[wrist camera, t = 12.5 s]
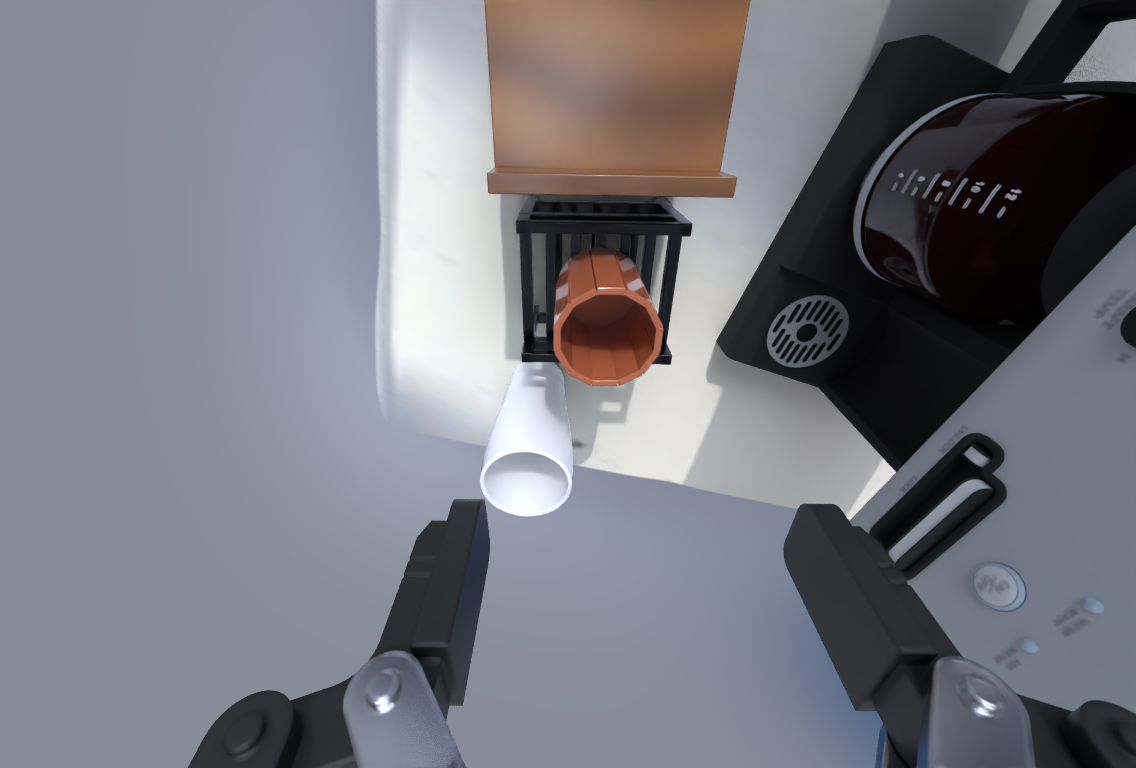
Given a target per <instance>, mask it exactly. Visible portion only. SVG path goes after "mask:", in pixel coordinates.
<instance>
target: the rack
mask: <svg viewBox="0 0 1136 768" xmlns="http://www.w3.org/2000/svg"><path fill="white" fill-rule="evenodd" d="M691 231H692V223H691V222H690V221H689V220H687V219H686V218H685V217H684V216H683V215H682V214H680V213H679V212H678V211H677V210H676V209H675V208H673V207H672V206H671V205H670V204H669V203H668V202H666V201H665V200H664V199H654V202H621V201H562V200H537V197H527V199H526V201H525V203H524V205H523V207H522V209H521V211H520V213H519V215H518V217H517V220H516V233H517V234H520V259H521V284H522V309H523V334H524V343H523V348H522V353H521V357H522V362H525V363H532V362H555V363H560V361H559V360H558V358H557V356H556V355H555V351H554V315H555V300H556V284H557V279H558V277H559V274H560V272H561V270H562V234H571V238H570V258H571V257H573V256H574V255H575V254H577V253H578V252H580V251H581V234H591V248H592V247H606V234H616V235H620V239H619V251H620V252H622V253H623V254H625V255H626V256H627V257H628V258H629V259H630V260H632V262H634V264H635V265H636V255H637V244H638V235H644V244H643V254H642V264H641V273H640V277H641V279H642V281H643V283H644V285H645V287H646V290H647V292H648V294H649V295H650V286H651V277H652V269H653V260H654V252H655V243H656V235H668V242H667V250H666V257H665V265H664V273H663V280H662V288H661V296H660V303H659V311H658V316H659V318H660V320H661V323H662V325H663V336H662V343H661V350H660V353H659V355H658V357H657V358H656V359H655V360H654V362H653V363H652V364H664V365H670V364H671V359H672V354H671V352H670V350H669V348H668V345H667V336H668V329H669V322H670V315H671V309H672V302H673V295H674V288H675V281H676V274H677V268H678V261H679V254H680V247H681V240H682V236H688V237H689V236H691ZM532 233H545V237H546V312H540V310H539V305H534V287H533V248H532ZM538 323H546V334H547V337H536V334H537V327H538Z"/></svg>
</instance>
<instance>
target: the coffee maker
mask: <svg viewBox="0 0 1136 768" xmlns="http://www.w3.org/2000/svg"><path fill="white" fill-rule="evenodd" d="M1129 19H1136V0H1062V1H1061V3H1060V4H1059V6H1058V7H1057V8H1056V10H1055V11H1054V13H1053V14H1052V15H1051V17H1050V18H1049V20H1048V21H1047V23H1046V24H1045V25H1044V27H1043V28H1042V30H1041V31H1040V33H1039V34H1038V35H1037V37H1036V38H1035V40H1034V41H1033V42H1032V44H1031V45H1030V47H1029V48H1028V50H1027V51H1026V52H1025V54H1024V55H1023V57H1022V58H1021V60H1020V61H1019V62H1018V64H1017V65H1016V67H1015V68H1014V69H1013V71H1012V72H1011V74H1009V73H1007V72H1005V71H1003V70H1001V69H999V68H997V67H995V66H993V65H991V64H989V63H987V62H985V61H983V60H981V59H979V58H977V57H975V56H973V55H971V54H969V53H967V52H965V51H963V50H961V49H959V48H957V47H955V46H953V45H951V44H949V43H947V42H945V41H943V40H941V39H939V38H937V37H934V36H930V35H919V36H914V37H910V38H906V39H901V40H897V41H893V42H888V43H886V44H885V45H884V47H883V48H882V50H881V52H880V54H879V55H878V57H877V59H876V61H875V62H874V64H873V66H872V68H871V69H870V71H869V73H868V75H867V77H866V78H865V80H864V82H863V84H862V85H861V87H860V89H859V91H858V92H857V94H856V96H855V98H854V99H853V101H852V103H851V105H850V106H849V108H848V110H847V112H846V114H845V115H844V117H843V119H842V121H841V122H840V124H839V126H838V128H837V129H836V131H835V133H834V135H833V136H832V138H831V140H830V142H829V144H828V145H827V147H826V149H825V151H824V152H823V154H822V156H821V158H820V159H819V161H818V163H817V165H816V166H815V168H814V170H813V172H812V174H811V175H810V177H809V179H808V181H807V182H806V184H805V186H804V188H803V189H802V191H801V193H800V195H799V196H798V198H797V200H796V202H795V204H794V205H793V207H792V209H791V211H790V212H789V214H788V216H787V218H786V219H785V221H784V223H783V225H782V226H781V228H780V230H779V232H778V234H777V235H776V237H775V239H774V241H773V242H772V244H771V246H770V248H769V249H768V251H767V253H766V255H765V256H764V258H763V260H762V262H761V264H760V265H759V267H758V269H757V271H756V272H755V274H754V276H753V278H752V279H751V281H750V283H749V285H748V286H747V288H746V290H745V292H744V294H743V295H742V297H741V299H740V301H739V302H738V304H737V306H736V308H735V309H734V311H733V313H732V315H731V316H730V318H729V320H728V322H727V324H726V325H725V327H724V329H723V331H722V332H721V334H720V336H719V338H718V339H717V343H718V345H719V346H720V348H721V349H722V351H723V352H724V354H725V355H726V356H727V357H729V358H730V359H732V360H735V361H738V362H741V363H744V364H748V365H751V366H754V367H757V368H760V369H763V370H766V371H769V372H772V373H776V374H779V375H782V376H785V377H788V378H791V379H794V380H797V381H800V382H803V383H807V384H810V385H813V386H816V387H818V388H819V389H820V390H821V391H822V392H823V393H824V394H825V395H826V396H827V398H828V399H829V400H830V401H831V402H832V403H833V404H834V405H835V406H836V407H837V408H838V409H839V411H840V412H841V413H842V414H843V415H844V416H845V417H846V418H847V419H848V420H849V421H850V422H851V424H852V425H853V426H854V427H855V428H856V429H857V430H858V431H859V432H860V433H861V434H862V435H863V437H864V438H865V439H866V440H867V441H868V442H869V443H870V444H871V445H872V446H873V447H874V448H875V450H876V451H877V452H878V453H879V454H880V455H881V456H882V457H883V458H884V459H885V460H886V461H887V463H888V464H889V465H890V466H891V467H892V468H893V469H894V470H895V471H896V473H895V474H894V475H893V476H892V478H891V479H890V480H889V481H888V482H887V483H886V484H885V485H884V486H883V487H882V488H881V489H880V490H879V491H878V492H877V493H876V494H875V495H874V496H873V497H872V498H871V499H870V500H869V501H868V502H867V503H866V504H865V505H864V506H863V508H862V509H861V510H860V511H859V512H858V513H857V514H856V515H855V516H854V517H853V518H852V519H851V520H850V521H849V522H850V523H851V525H852V526H860V527H861V528H862V529H864V530H865V531H866V532H867V533H868V534H870V535H871V536H872V537H873V538H874V539H876V540H877V541H878V542H879V543H880V544H881V545H882V546H883V548H884V549H885V551H886V552H887V553H888V555H889V556H890V557H891V559H892V560H893V562H894V563H895V567H896V568H899V570H900V571H901V573H902V574H903V575H904V577H905V578H906V580H907V583H908V585H911V586H912V588H913V589H914V591H915V592H916V593H917V595H918V596H919V597H920V599H921V600H922V602H923V603H924V604H925V606H926V607H927V609H928V610H929V611H930V613H931V614H932V615H933V617H934V618H935V620H936V621H937V622H938V624H939V625H940V626H941V628H942V629H943V631H944V632H945V633H946V635H947V636H948V638H949V639H950V640H951V642H952V643H953V644H954V646H955V647H956V649H957V650H958V651H959V652H960V654H961V655H962V656H963V657H964V658H967V659H970V660H972V661H975V662H977V663H979V664H981V665H982V666H984V667H986V668H988V669H989V670H991V671H992V672H993V673H995V674H996V675H997V676H999V677H1000V678H1001V679H1002V680H1003V681H1005V682H1006V683H1007V684H1008V685H1009V686H1010V687H1011V688H1012V690H1013V691H1014V692H1015V693H1017V694H1020V695H1023V696H1026V697H1029V698H1032V699H1035V700H1038V701H1041V702H1045V703H1048V704H1051V705H1054V706H1057V707H1060V708H1063V709H1067V710H1070V711H1075V710H1076V709H1077V708H1079V707H1080V706H1081V705H1082V704H1084V703H1085V702H1087V701H1091V700H1100V701H1106V702H1110V703H1113V704H1116V705H1118V706H1121V707H1123V708H1125V709H1127V710H1129V711H1131V712H1133V713H1135V714H1136V82H1122V81H1089V82H1070V83H1063V82H1064V80H1065V79H1066V78H1067V76H1068V75H1069V74H1070V72H1071V71H1072V70H1073V69H1074V67H1075V66H1076V65H1077V63H1078V62H1079V61H1080V59H1081V58H1082V57H1083V55H1084V54H1085V53H1086V51H1087V50H1088V49H1089V47H1090V46H1091V45H1092V44H1093V42H1094V41H1095V40H1096V38H1097V37H1098V36H1099V34H1100V33H1101V32H1102V30H1103V29H1104V28H1105V26H1106V25H1107V24H1109V23H1110V22H1116V21H1123V20H1129Z"/></svg>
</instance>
